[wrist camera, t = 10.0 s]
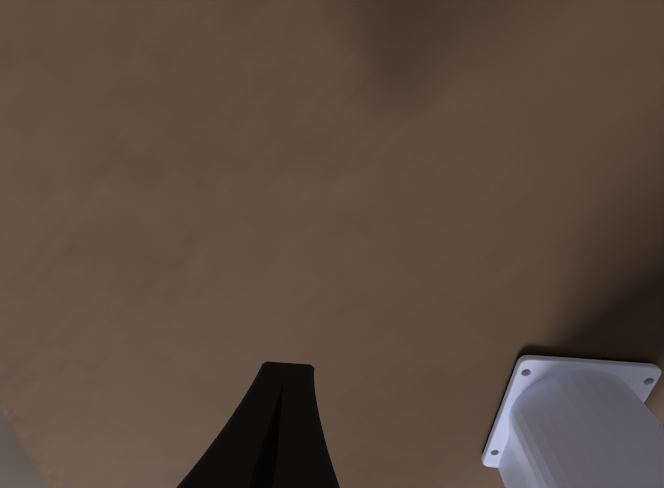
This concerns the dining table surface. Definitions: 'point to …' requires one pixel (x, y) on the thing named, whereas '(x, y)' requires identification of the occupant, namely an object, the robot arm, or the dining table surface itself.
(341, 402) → the dining table surface
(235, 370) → the dining table surface
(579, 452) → the robot arm
